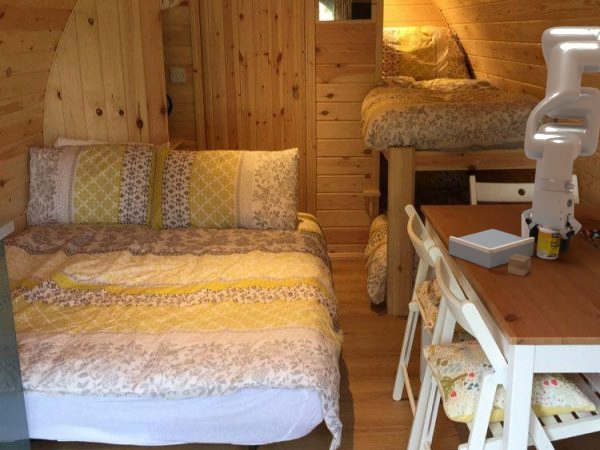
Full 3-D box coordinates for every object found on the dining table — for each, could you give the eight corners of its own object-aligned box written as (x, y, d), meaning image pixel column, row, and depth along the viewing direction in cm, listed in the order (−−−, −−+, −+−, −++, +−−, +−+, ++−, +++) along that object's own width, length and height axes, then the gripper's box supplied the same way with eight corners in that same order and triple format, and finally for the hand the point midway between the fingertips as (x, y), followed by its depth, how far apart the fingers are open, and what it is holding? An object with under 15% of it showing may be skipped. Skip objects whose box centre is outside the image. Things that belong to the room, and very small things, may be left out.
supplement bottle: (549, 261, 170) (553, 224, 167) (531, 255, 175) (535, 219, 172) (562, 257, 173) (566, 221, 170) (544, 252, 178) (548, 216, 175)
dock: (491, 242, 186) (493, 225, 185) (532, 255, 175) (534, 237, 174) (448, 253, 177) (449, 236, 175) (489, 268, 166) (490, 250, 164)
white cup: (515, 237, 190) (517, 215, 188) (525, 232, 195) (527, 210, 193) (538, 242, 186) (540, 219, 184) (547, 237, 190) (550, 214, 188)
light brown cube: (513, 268, 166) (515, 254, 165) (529, 272, 163) (530, 257, 162) (507, 272, 163) (509, 258, 162) (523, 276, 160) (524, 261, 159)
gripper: (594, 189, 163) (585, 253, 168) (535, 177, 177) (529, 237, 182) (576, 193, 159) (568, 259, 164) (518, 180, 173) (512, 241, 178)
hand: (548, 247), depth 173 cm, fingers open, 8 cm apart
